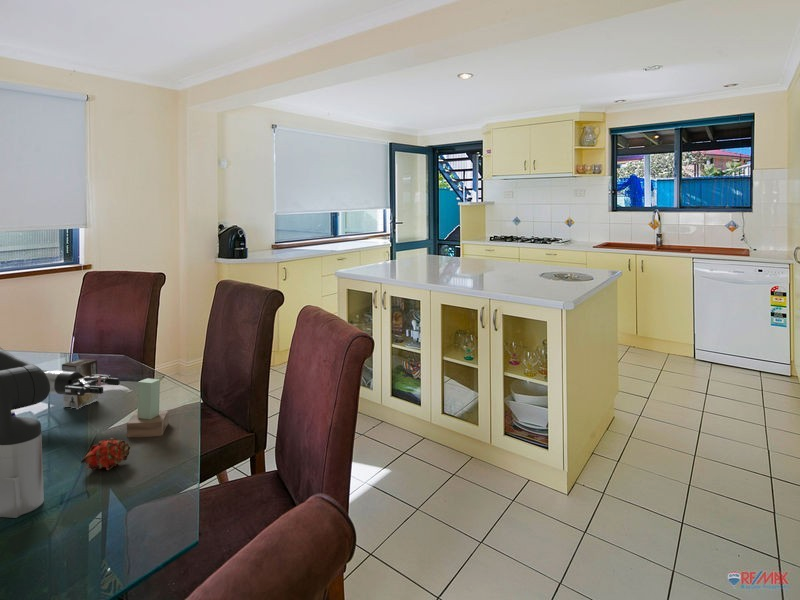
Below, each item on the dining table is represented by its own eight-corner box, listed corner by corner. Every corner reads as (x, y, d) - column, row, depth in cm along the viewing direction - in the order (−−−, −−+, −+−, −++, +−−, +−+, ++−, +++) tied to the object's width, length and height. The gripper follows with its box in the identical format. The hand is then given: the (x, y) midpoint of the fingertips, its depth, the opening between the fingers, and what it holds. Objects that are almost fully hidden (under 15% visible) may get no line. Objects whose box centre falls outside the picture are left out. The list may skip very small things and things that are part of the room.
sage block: (150, 419, 153) (151, 383, 152) (137, 417, 153) (138, 381, 152) (159, 415, 157) (160, 379, 156) (146, 413, 158) (147, 378, 157)
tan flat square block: (161, 436, 153) (161, 422, 152) (127, 438, 150) (126, 423, 149) (168, 424, 162) (168, 410, 162) (135, 425, 160) (135, 411, 159)
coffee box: (84, 399, 178) (83, 357, 176) (98, 401, 177) (98, 359, 175) (62, 407, 169) (61, 363, 167) (77, 410, 168) (76, 366, 166)
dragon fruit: (135, 466, 136) (86, 485, 128) (125, 442, 139) (77, 458, 132) (135, 451, 131) (85, 470, 123) (125, 426, 134) (75, 443, 126)
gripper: (44, 377, 147) (96, 381, 147) (76, 365, 161) (124, 368, 161) (45, 401, 148) (97, 404, 148) (77, 386, 162) (124, 390, 162)
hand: (111, 386), depth 154 cm, fingers open, 8 cm apart
